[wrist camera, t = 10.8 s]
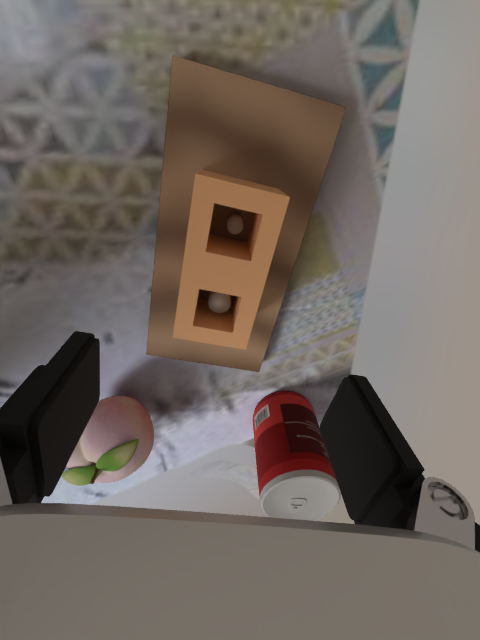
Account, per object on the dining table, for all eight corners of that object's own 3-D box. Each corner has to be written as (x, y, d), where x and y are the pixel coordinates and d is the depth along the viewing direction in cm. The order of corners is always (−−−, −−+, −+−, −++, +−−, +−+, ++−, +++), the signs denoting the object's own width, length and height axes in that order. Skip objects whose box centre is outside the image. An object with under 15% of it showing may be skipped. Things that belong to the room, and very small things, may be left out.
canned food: (255, 436, 39) (263, 528, 30) (248, 392, 35) (256, 481, 26) (312, 430, 39) (339, 520, 30) (312, 385, 35) (343, 472, 26)
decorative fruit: (128, 438, 39) (99, 521, 30) (74, 404, 35) (24, 486, 27) (179, 403, 36) (163, 483, 27) (125, 362, 32) (88, 439, 24)
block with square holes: (201, 169, 22) (195, 173, 18) (278, 188, 23) (290, 197, 19) (181, 308, 28) (172, 337, 23) (242, 319, 29) (245, 349, 24)
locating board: (257, 363, 33) (262, 395, 29) (149, 346, 32) (137, 376, 27) (339, 110, 22) (366, 99, 17) (176, 61, 20) (162, 36, 16)
